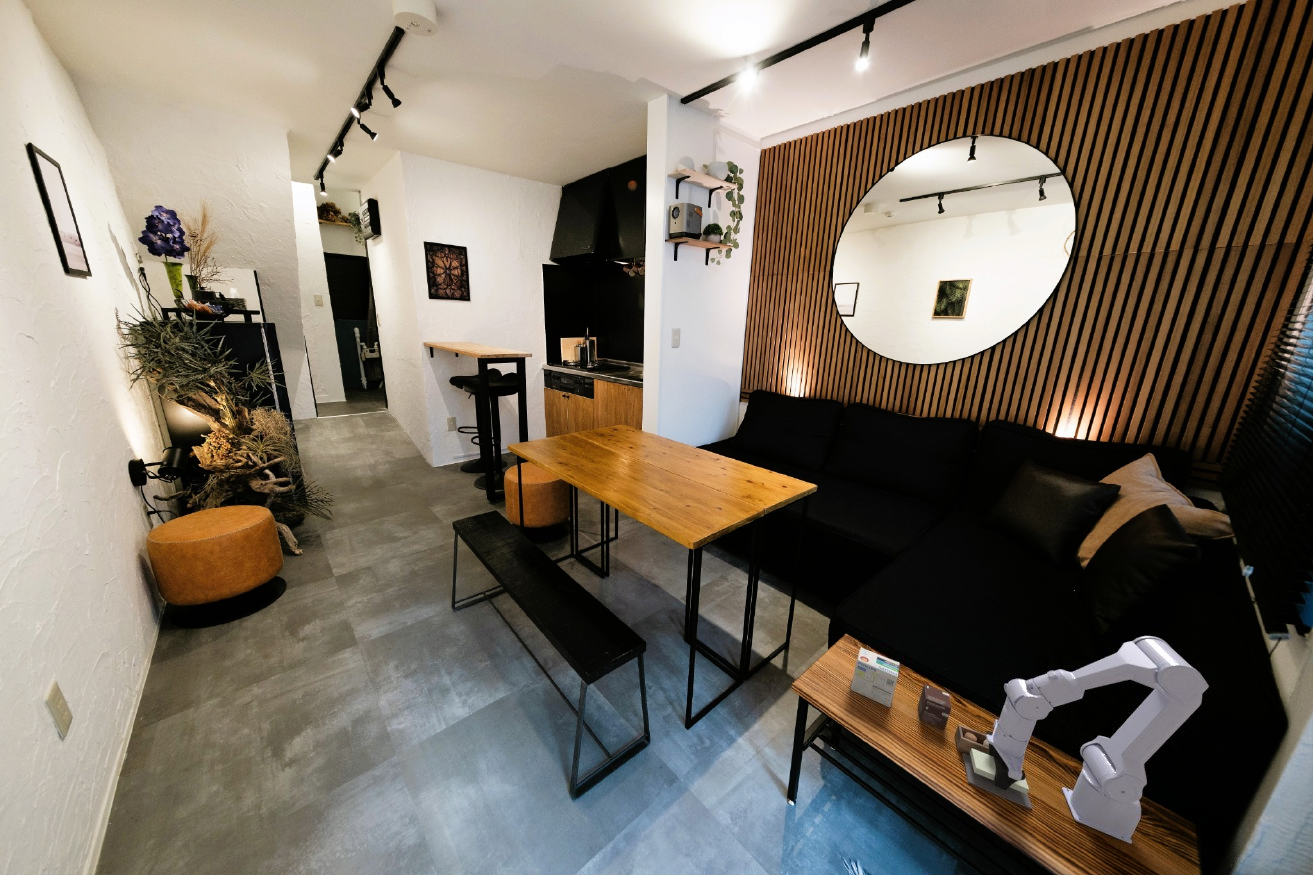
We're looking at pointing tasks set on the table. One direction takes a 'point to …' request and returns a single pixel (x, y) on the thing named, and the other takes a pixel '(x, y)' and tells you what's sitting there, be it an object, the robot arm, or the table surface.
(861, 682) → the light bulb box
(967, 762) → the mat
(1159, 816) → the table surface
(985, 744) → the crate
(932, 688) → the box
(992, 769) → the lid
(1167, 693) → the robot arm
